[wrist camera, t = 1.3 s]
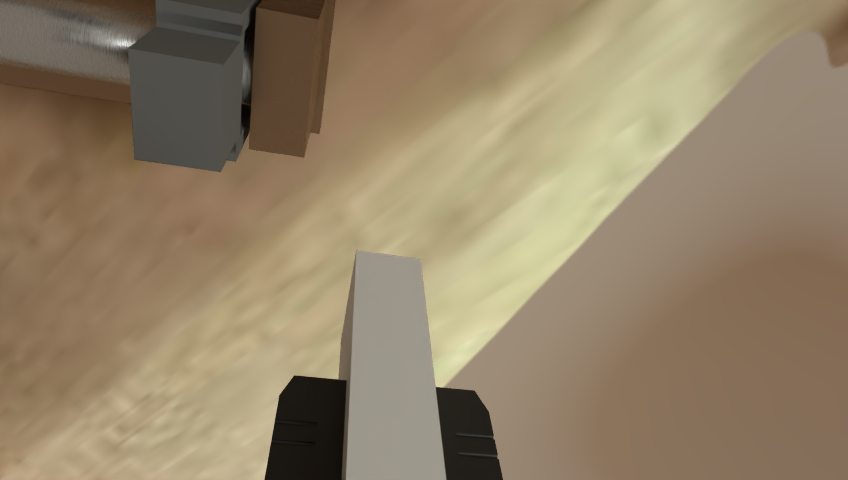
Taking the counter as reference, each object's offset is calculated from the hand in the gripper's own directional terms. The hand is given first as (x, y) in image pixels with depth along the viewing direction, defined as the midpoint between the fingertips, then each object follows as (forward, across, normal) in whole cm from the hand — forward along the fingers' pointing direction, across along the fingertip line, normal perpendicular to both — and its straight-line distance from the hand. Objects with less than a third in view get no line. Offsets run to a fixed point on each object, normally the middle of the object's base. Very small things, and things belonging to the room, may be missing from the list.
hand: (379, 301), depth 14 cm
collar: (+18, -7, 0) cm, 19 cm away
